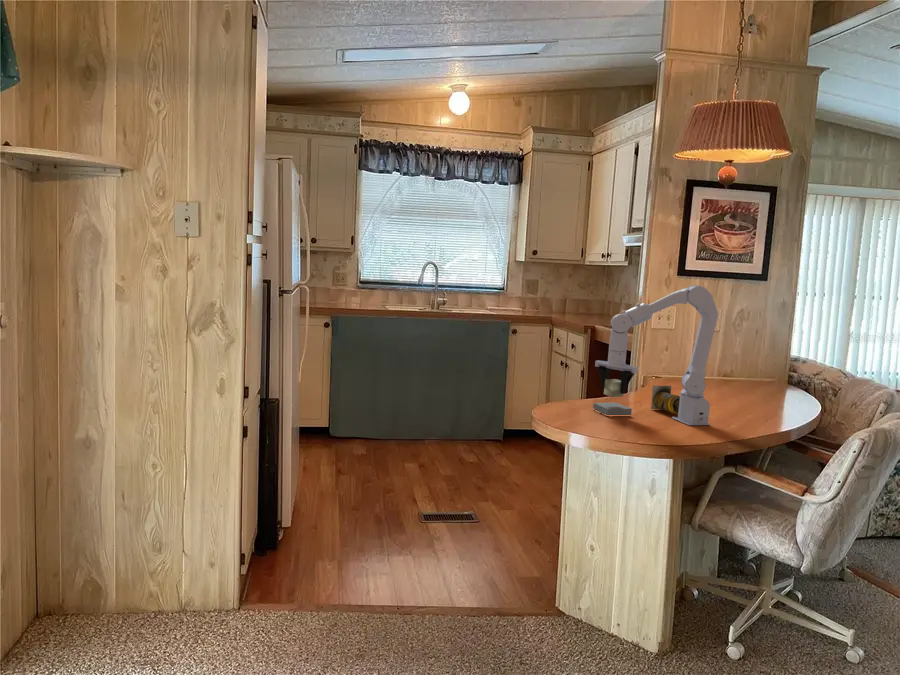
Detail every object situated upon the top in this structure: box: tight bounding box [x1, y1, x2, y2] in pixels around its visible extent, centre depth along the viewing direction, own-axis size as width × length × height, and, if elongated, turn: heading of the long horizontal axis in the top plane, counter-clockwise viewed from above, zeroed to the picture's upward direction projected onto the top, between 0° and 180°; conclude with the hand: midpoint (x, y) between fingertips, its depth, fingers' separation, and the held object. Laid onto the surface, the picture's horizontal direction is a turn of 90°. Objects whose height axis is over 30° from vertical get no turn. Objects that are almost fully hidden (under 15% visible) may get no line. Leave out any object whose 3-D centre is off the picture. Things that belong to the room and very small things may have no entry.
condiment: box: [650, 385, 680, 414], centre depth 229 cm, size 7×8×12 cm
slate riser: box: [592, 402, 633, 416], centre depth 225 cm, size 9×9×3 cm
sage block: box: [603, 378, 624, 398], centre depth 224 cm, size 4×4×5 cm
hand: (613, 391), depth 224 cm, fingers closed on sage block, 6 cm apart
